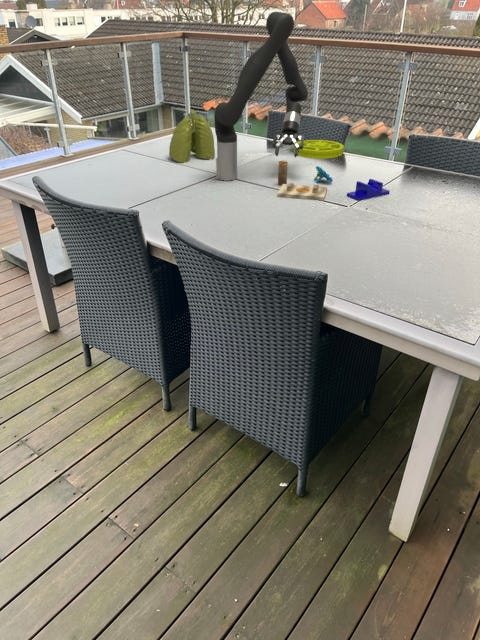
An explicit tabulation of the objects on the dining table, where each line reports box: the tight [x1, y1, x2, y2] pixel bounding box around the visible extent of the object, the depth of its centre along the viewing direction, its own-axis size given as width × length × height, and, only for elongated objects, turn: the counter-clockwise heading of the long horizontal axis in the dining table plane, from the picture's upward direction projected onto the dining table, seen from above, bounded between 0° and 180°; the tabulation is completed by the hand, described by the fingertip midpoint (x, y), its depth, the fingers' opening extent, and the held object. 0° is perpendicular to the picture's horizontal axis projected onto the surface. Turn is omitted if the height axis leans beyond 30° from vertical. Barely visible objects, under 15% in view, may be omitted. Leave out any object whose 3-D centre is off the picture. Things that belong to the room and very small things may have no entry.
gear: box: [313, 165, 333, 184], centre depth 227 cm, size 11×6×10 cm
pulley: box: [293, 139, 345, 160], centre depth 276 cm, size 28×28×5 cm
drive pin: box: [277, 160, 289, 187], centre depth 223 cm, size 4×4×10 cm
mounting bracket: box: [346, 178, 390, 202], centre depth 211 cm, size 18×7×6 cm, turn 121°
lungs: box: [168, 109, 216, 164], centre depth 259 cm, size 25×16×24 cm, turn 115°
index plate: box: [276, 182, 328, 201], centre depth 213 cm, size 20×14×4 cm
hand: (286, 155), depth 225 cm, fingers open, 8 cm apart
